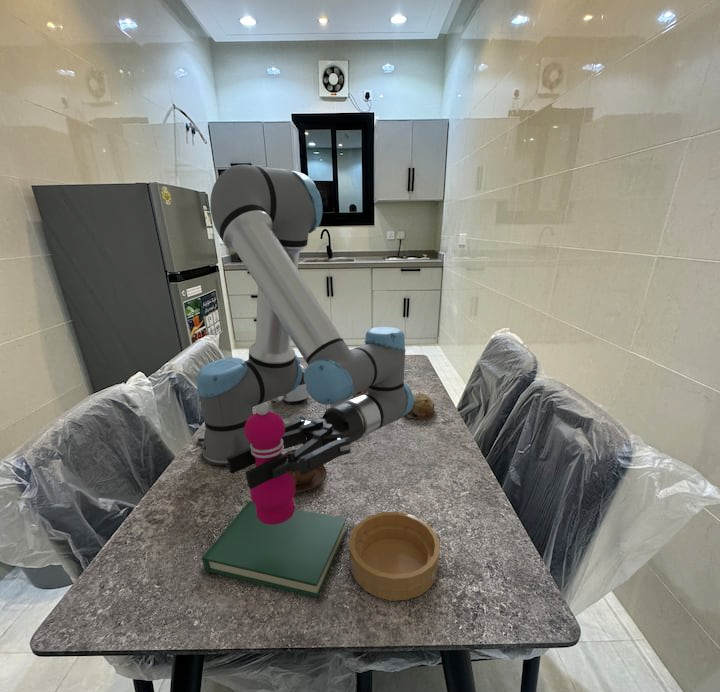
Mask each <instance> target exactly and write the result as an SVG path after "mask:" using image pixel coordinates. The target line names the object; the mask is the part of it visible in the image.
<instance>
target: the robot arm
mask: <svg viewBox="0 0 720 692" xmlns="http://www.w3.org/2000/svg"><path fill="white" fill-rule="evenodd" d="M209 199H210V200H209V201H210V202H209V204H210V215H211V219H212V222H213V226H214V228H215V231H216V232H217V234H218V236H219V238H220V239H221V241H222V243H223V244H224V245H225V247H226V248H227V250H229V251H231V252H234V253H236V254H237V255H238V258H239V259H240V261H241V262H242V263H243V265H244V267H245V269H246V270H247V271H248V273H249V275H250V276H251V278H252V279H253V282H255V284H256V286H257V301H256V302H257V304H256V325H255V342H254V343H252V344H251V345H250V346H249V348H248V359H247V360H244V359H243V358H240V357H227V358H221V359H216V360H214V361H210V362H209V363H207V364H205V365H203V366H202V367H201V368H200V369H199V370H198V372H197V374H196V392H197V394H198V398H199V403H200V407H201V411H202V416H203V421H204V422H203V423H204V426H205V427H204V428H205V431H204V437H202V438H199V437H198V438H197V442H202V448H201V449H202V450H201V451H202V456H203V459H204V461H205V462H207V463H208V464H210V465H213V466H219V467H228V471H229V473H230V475H233V474H235V473H238V472H240V471H242V470H244V469H246V468H248V467H251V466H253V465H256V460H255V456H253V455H252V453H251V448H250V444H251V443H250V442H249V441H248V440H247V438H246V436H245V424H246V421H247V420H248V418H249V417H250V416H252V415H253V414H254V411H253V408H254V407H257V406H258V405H259V404H265V403H267V402H270V401H272V399H275V398H277V399H278V398H280V397H283V396H284V395H286V394H288V393H289V392H291V391H293V390H295V389H296V388H297V387H298V385H299V384H300V382H301V379H302V366H303V365H302V366H300V365H301V364H300V363H301V360H300V358H299V357H298V355H297V354H296V351H295V350H294V348H293V347H292V346H291V341H292V342H293V344H294V345H295V347H296V348H297V350H298V352H299V353H300V355H301V356H302V358H303V359H304V360H305V363H306V364H307V366H306V367H305V370H304V371H303V372H304V382H305V383H306V386H307V387H306V390H307V392H308V393H309V397H310V398H311V399H312V400H313V401H314V402H316V403H318V404H321V405H325V406H326V405H330V404H332V403H335V402H338V401H340V400H344V399H347V398H349V397H350V396H351V395H353V396H354V395H356V394H357V393H360V392H359V391H362V390H364V389H366V388H367V392H364V393H363V394H360V395H358V396H356V397H353V399H350V400H348V401H345V402H344V403H341V404H339V405H336V406H334V407H331V408H330V407H329V408H327V409H326V410H325V412H324V413H323V415H322V416H321V417H320V418H315V419H313V420H311V421H310V420H306V416H304V415H300V416H298V417H296V418H295V419H294V420H292V421H289V422H287V423H284V425H285V433H284V436H283V437H282V440H283V445H284V449H283V450H286V449H289V448H293V447H296V446H300V445H301V446H300V447H299V448H296V449H297V450H296V451H294V452H290V453H289V451H290V450H288V451H287V452H288V459H287V458H286V455H284V454H285V453H282V455H280V456H278V457H276V458H274V459H272V460H270V461H267V462H265V463H263V464H261V465H259V466H257V467H256V466H255V467H252V468H251V469H248V470H246V471H245V477H246V480H247V481H246V483H247V487H248V488H249V489H253V488H255V487H257V486H259V485H260V484H262V483H264V482H266V481H268V480H270V479H272V478H277V477H279V476H281V475H283V474H285V473H287V472H289V471H292V472H294V471H300V474H303V475H304V474H307V473H309V472H311V471H312V470H314V469H316V468H318V467H320V466H322V465H324V466H325V464H327V463H329V462H331V461H333V460H335V459H337V458H339V457H342V456H345V455H348V454H351V444H353V443H355V442H357V441H358V440H360V439H362V438H364V437H366V436H369V434H372V433H373V432H376V431H378V430H379V429H381V428H384V427H385V426H387V425H390V424H392V423H394V422H396V421H399V420H400V419H402V418H403V417H405V416H406V414H407V413H409V412H410V411H411V409H412V407H413V405H414V396H413V395H414V394H413V393H412V388H411V387H410V386H409V385H408V384H407V383H405V366H406V365H405V362H406V350H407V349H406V340H405V339H406V337H405V336H406V335H405V332H404V331H403V330H402V329H400V328H397V327H393V326H377V327H376V326H375V327H372V328H370V329H368V330H367V331H366V332H365V338H364V343H365V344H363V345H359V346H357V347H354V348H349V346H348V345H347V343H346V341H345V340H344V339H343V337H342V336H341V335H340V333H339V331H338V330H337V329H336V326H335V325H334V324H333V322H332V321H331V319H330V317H329V316H328V314H327V312H325V310H324V308H323V307H322V305H321V303H320V302H319V301H318V299H317V297H316V296H315V294H314V293H313V291H312V290H311V288H310V286H309V285H308V283H307V282H306V280H305V278H304V277H303V276H302V274H301V272H300V271H299V262H300V261H299V260H300V253H301V252H302V251H303V250H305V248H307V247H308V242H309V234H311V233H314V232H315V231H316V230H317V228H318V227H319V226H320V225H321V221H322V218H323V201H322V197H321V194H320V190H318V189H317V186H316V183H315V182H314V181H313V179H311V178H310V176H308V175H306V174H305V173H303V172H298V171H295V170H292V169H286V168H277V167H276V168H275V167H267V166H258V165H257V166H256V165H251V164H236V165H233V166H231V167H229V168H227V169H225V170H223V172H221V174H220V175H218V177H217V179H216V180H215V182H214V185H213V186H212V190H211V194H210V198H209ZM299 364H300V365H299ZM307 462H309V465H307Z"/></svg>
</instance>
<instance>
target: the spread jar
mask: <svg viewBox="0 0 720 692" xmlns="http://www.w3.org/2000/svg"><path fill="white" fill-rule="evenodd" d="M299 365H300V366H302V379H301V382H300V384H299V385H298V387H297V388H296V389H295V390H293V391H291V392H289V393H288V394H286V395H284V396H282V399H283V400H284V402H285V403H286V404H289V405H299V404H303V403H305V402H306V401H307V400H309V398H310V395H309V393H308V392H307V390H306V387H307V386H306V383H305V382H304V372H305V370H304V365H303V364H299ZM277 400H278V397H277V398H275V399H272V400H271V401H273V402H277Z"/></svg>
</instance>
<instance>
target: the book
mask: <svg viewBox="0 0 720 692" xmlns="http://www.w3.org/2000/svg"><path fill="white" fill-rule="evenodd" d="M346 522H347V517H341V516H335V515H331V514H330V515H329V514H325V513H318V512H313V511H308V510H303V509H297V508H296V509H295V511H294V514H293V515H292V516H291V518H289V519H288V520H287V521H285V522H283V523H280V524H274V525H271V524H265V523H262V522H261V521H260V520H259V519H258V517H257V513H256V505H255V504H254V503H253V502H252V500H249V501H248V502H247V503H246V504H245V505H244V507H243V508H242V509H241V510H240V511H239V513H238V514H237V515H236V516H235V517H234V519H233V520H232V521H231V522H230V523H229V525H228V526H227V527H226V528H225V530H223V532H222V533H221V534H220V535H219V536H218V538H217V539H216V540H215V541H214V542H213V544H212V545H211V546H210V547H209V548H208V550H207V551H206V552H205V553H203V554H204V555H202V556H201V560H202V564H203V568H204V571H205V572H208V573H212V574H216V575H221V576H224V577H229V578H232V579H236V580H241V581H244V582H249V583H254V584H257V585H261V586H266V587H270V588H274V589H278V590H282V591H287V592H290V593H295V594H298V595H304V596H308V597H311V598H316V599H318V598H319V596H320V594H321V592H322V590H323V587H324V585H325V583H326V580H327V578H328V576H329V573H330V571H331V568H332V566H333V564H334V561H335V559H336V557H337V555H338V552H339V550H340V548H341V546H342V544H343V541H344V539H345V536H346V534H347V532H348V529H347V528H346Z"/></svg>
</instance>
